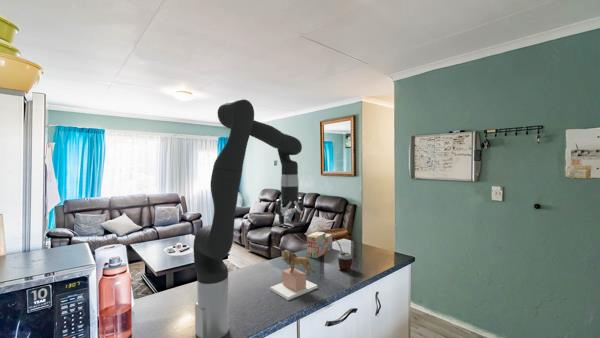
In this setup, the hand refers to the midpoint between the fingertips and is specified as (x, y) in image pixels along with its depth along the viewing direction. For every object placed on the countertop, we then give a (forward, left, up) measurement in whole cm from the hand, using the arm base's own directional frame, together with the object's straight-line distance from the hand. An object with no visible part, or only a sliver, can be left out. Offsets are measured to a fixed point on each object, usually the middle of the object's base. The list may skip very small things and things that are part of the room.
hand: (289, 222), depth 115 cm
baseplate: (0, -2, -28) cm, 28 cm away
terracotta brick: (0, -3, -27) cm, 27 cm away
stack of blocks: (+43, +24, -28) cm, 56 cm away
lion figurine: (+1, -4, -21) cm, 21 cm away
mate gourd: (+32, -3, -28) cm, 43 cm away
